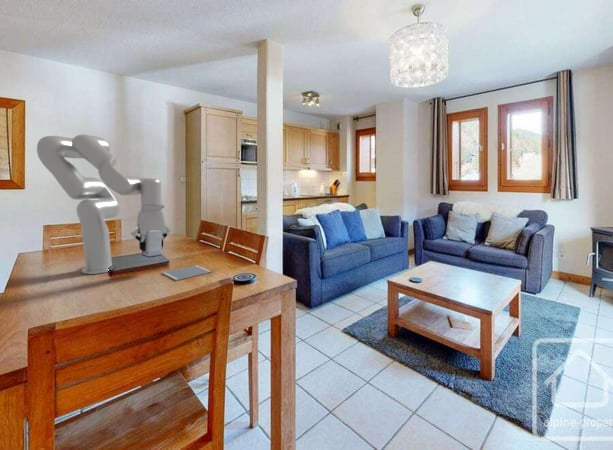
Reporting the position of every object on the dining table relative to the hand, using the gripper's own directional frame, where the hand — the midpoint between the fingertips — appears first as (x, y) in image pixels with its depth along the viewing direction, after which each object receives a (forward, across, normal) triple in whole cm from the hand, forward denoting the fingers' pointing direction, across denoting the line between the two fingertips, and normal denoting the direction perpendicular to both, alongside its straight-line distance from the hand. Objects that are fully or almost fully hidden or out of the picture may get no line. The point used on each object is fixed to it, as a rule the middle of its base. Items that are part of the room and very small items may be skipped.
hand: (151, 249), depth 130 cm
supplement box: (+3, 0, 0) cm, 3 cm away
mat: (+9, -10, +12) cm, 18 cm away
